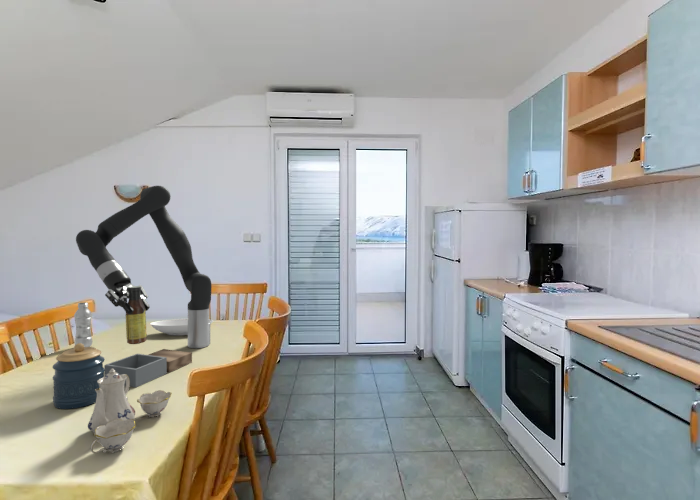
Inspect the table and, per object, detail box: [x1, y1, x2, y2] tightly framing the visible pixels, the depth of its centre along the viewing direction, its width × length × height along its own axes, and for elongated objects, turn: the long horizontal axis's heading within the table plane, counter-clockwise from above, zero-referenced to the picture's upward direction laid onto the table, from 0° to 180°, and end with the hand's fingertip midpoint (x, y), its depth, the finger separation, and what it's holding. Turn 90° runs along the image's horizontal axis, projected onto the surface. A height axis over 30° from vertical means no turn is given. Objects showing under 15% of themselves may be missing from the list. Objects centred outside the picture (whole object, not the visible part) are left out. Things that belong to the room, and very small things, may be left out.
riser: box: [147, 348, 193, 373], centre depth 149 cm, size 12×14×4 cm
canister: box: [52, 343, 105, 410], centre depth 116 cm, size 13×13×18 cm
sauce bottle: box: [125, 285, 148, 345], centre depth 135 cm, size 7×6×20 cm
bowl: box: [149, 318, 214, 336], centre depth 196 cm, size 30×15×6 cm, turn 105°
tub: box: [103, 353, 168, 388], centre depth 135 cm, size 14×14×6 cm
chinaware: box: [87, 368, 172, 454], centre depth 100 cm, size 28×17×17 cm, turn 4°
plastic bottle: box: [73, 301, 93, 347], centre depth 169 cm, size 6×7×20 cm
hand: (139, 311), depth 134 cm, fingers closed on sauce bottle, 6 cm apart
